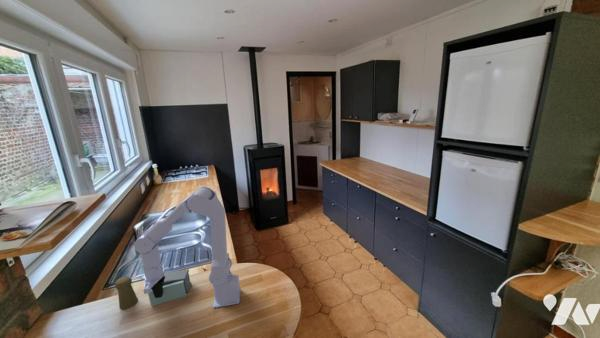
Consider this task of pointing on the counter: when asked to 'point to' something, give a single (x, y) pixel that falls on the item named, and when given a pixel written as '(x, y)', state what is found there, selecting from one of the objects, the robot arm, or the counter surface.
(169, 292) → the sage green bent plank
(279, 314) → the counter surface
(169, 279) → the cupboard
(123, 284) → the cork
